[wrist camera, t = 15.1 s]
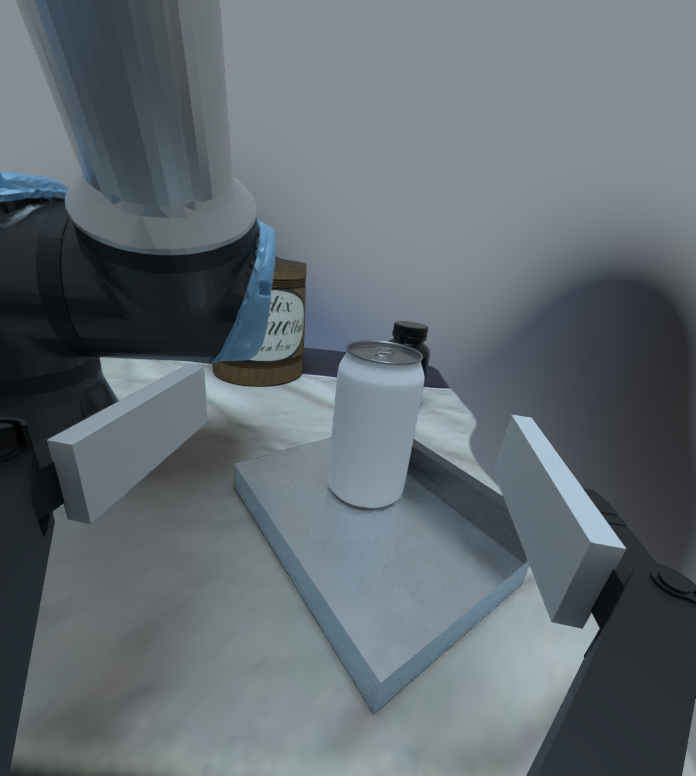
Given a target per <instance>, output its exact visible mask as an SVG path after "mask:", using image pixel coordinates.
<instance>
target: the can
mask: <svg viewBox="0 0 696 776" xmlns="http://www.w3.org/2000/svg"><path fill="white" fill-rule="evenodd" d="M346 350H347V352H346V354H345V356H344V358H343V359H342V361H341V362H340V365H339V368H338V376H337V385H336V395H335V405H334V416H333V427H332V437H331V448H330V460H329V472H328V483H329V486H330V488H331V490H332V491H333V492H334V494H335V495H336V496H337V497H338V498H339V499H341V500H342V501H343V502H345V503H347V504H349V505H351V506H354V507H358V508H364V509H379V508H383V507H386V506H389V505H390V504H392V503H394V502H395V501H397V500H398V499H399V498H400V496H401V495H402V493H403V489H404V484H405V480H406V475H407V470H408V465H409V459H410V454H411V449H412V444H413V439H414V434H415V428H416V423H417V418H418V413H419V408H420V402H421V397H422V391H423V386H424V372H423V369H422V365H421V360H422V359H423V355H422V354H421V353H420V352H419V351H417V350H415V349H413V348H411V347H408V346H405V345H401V344H397V343H392V342H385V341H373V340H365V341H356V342H352V343H350V344H348V345H347V346H346Z"/></svg>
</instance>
